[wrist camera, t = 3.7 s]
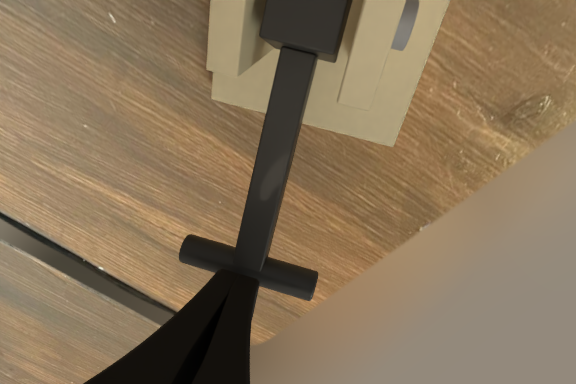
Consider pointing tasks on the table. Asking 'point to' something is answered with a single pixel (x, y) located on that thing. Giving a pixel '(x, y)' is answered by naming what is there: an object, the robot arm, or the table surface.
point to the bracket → (331, 64)
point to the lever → (278, 144)
